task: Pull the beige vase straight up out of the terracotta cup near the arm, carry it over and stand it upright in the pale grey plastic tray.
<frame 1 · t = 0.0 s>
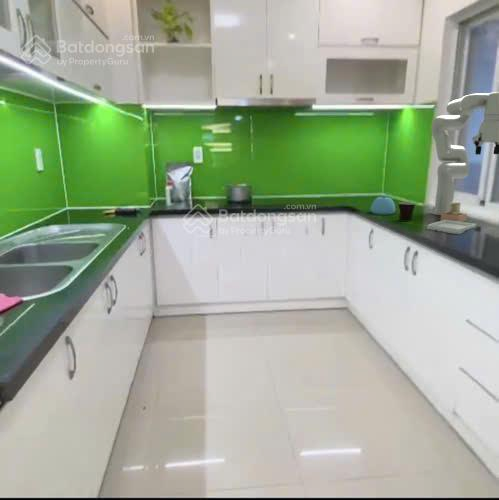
hand: (486, 154, 197), 37 cm above the table, tool pointing down, fingers open, 9 cm apart
tray: (451, 228, 200), on the table
coffee mug: (404, 221, 221), on the table
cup: (452, 222, 215), on the table
sugar bowl: (382, 213, 246), on the table
beige vase: (453, 220, 215), point 1 cm above the table, touching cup
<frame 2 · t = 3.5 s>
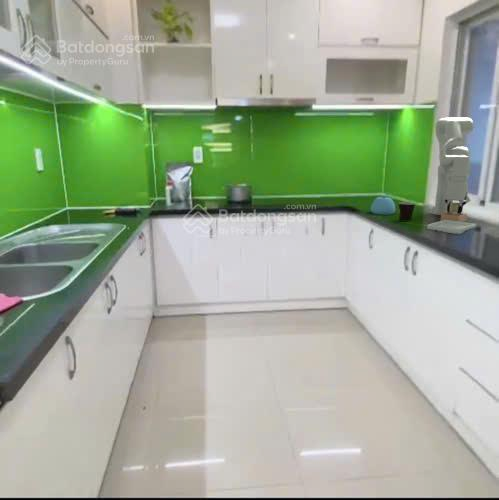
hand: (454, 212, 214), 6 cm above the table, tool pointing down, fingers closed on beige vase, 5 cm apart
beige vase: (453, 220, 215), point 1 cm above the table, touching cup, gripper
everything else where it was.
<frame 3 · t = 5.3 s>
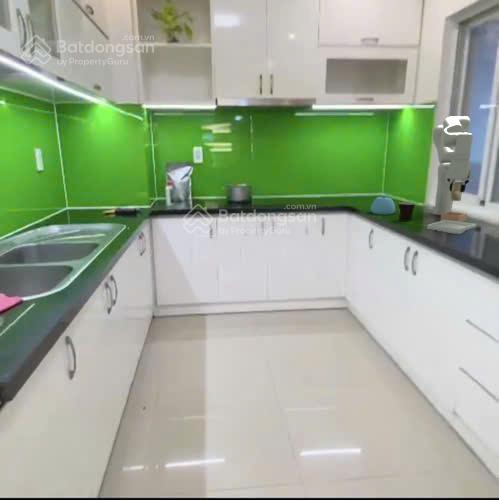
hand: (456, 191, 211), 17 cm above the table, tool pointing down, fingers closed on beige vase, 5 cm apart
beige vase: (455, 200, 212), point 13 cm above the table, touching gripper
everything else where it was.
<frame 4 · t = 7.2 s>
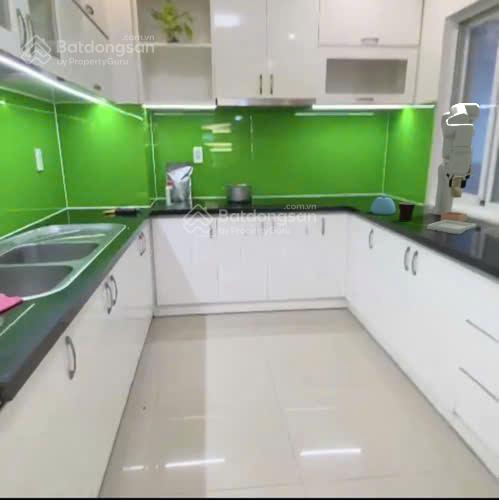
hand: (456, 187, 194), 21 cm above the table, tool pointing down, fingers closed on beige vase, 5 cm apart
beige vase: (455, 196, 195), point 17 cm above the table, touching gripper
everything else where it was.
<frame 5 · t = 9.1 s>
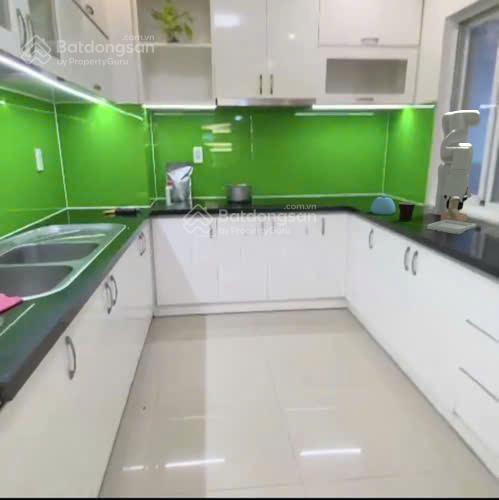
hand: (454, 208, 197), 11 cm above the table, tool pointing down, fingers closed on beige vase, 5 cm apart
beige vase: (452, 218, 198), point 6 cm above the table, touching gripper
everything else where it was.
when the fingers open (7 cm above the table, at t = 10.7 s): beige vase stays where it is, resting on tray.
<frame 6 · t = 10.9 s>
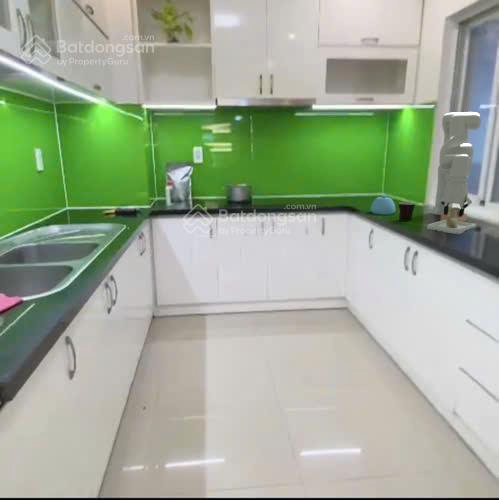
hand: (453, 215, 198), 7 cm above the table, tool pointing down, fingers open, 6 cm apart
beige vase: (451, 227, 200), point 1 cm above the table, touching tray
everything else where it was.
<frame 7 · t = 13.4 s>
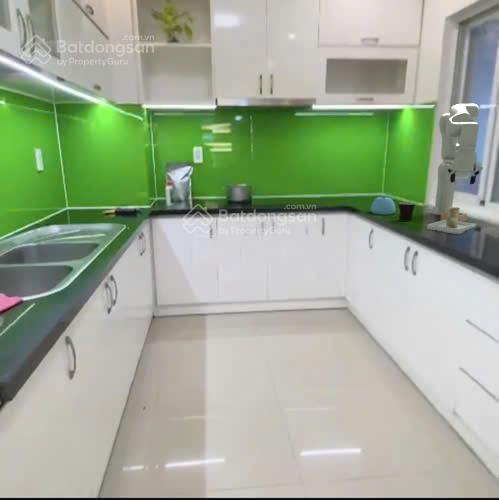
hand: (462, 183, 197), 23 cm above the table, tool pointing down, fingers open, 9 cm apart
nothing on the table moved.
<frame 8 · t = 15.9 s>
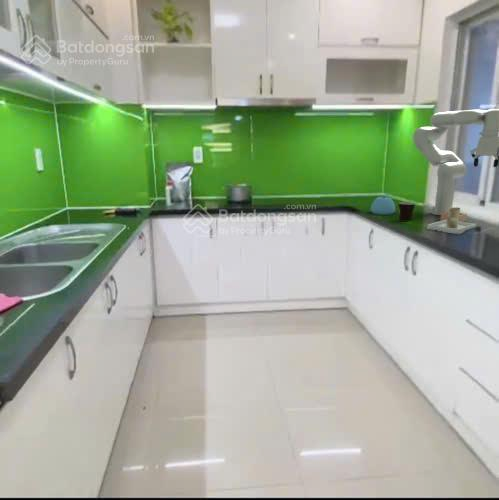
hand: (485, 166, 210), 30 cm above the table, tool pointing down, fingers open, 9 cm apart
nothing on the table moved.
at the end: beige vase inside the target area on the tray (0.1 cm from its centre), point 1.1 cm above the tray's base; beige vase tilted 2°; the gripper is holding nothing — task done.
